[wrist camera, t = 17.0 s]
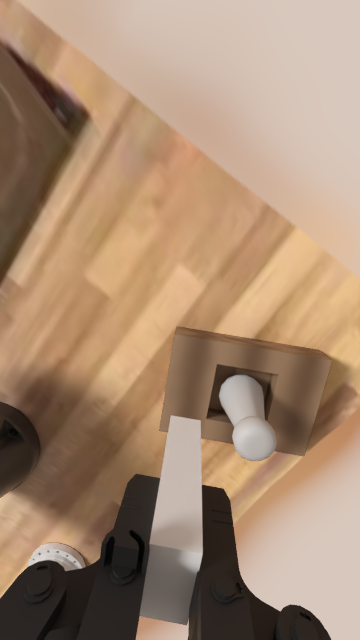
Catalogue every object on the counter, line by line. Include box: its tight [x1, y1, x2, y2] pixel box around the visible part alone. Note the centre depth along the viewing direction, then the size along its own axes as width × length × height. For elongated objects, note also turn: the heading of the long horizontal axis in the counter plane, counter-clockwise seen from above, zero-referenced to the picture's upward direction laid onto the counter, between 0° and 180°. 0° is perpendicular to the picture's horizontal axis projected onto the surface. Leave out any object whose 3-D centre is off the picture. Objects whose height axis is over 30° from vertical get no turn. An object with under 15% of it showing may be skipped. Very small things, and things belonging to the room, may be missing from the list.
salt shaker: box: [219, 374, 277, 461], centre depth 35 cm, size 6×6×13 cm
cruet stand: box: [159, 327, 332, 456], centre depth 40 cm, size 20×14×4 cm
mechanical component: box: [28, 543, 86, 571], centre depth 50 cm, size 10×4×10 cm
